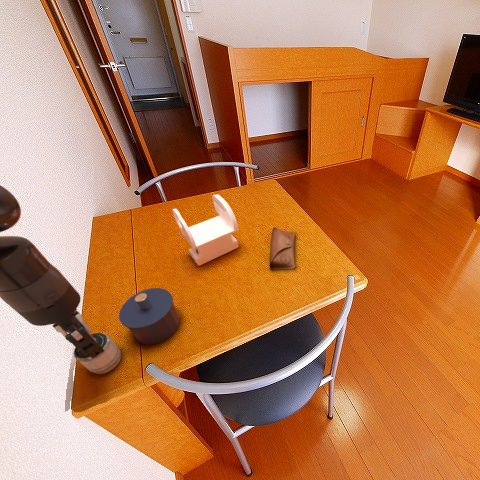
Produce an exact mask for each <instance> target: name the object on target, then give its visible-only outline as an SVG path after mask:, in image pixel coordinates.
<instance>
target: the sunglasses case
mask: <svg viewBox="0 0 480 480" xmlns="http://www.w3.org/2000/svg"><path fill="white" fill-rule="evenodd" d="M270 238H271V239H270V249H269V261H268V262H269V263H268V265H269V268H270V269H271V270H273V271H282V270H283V271H284V270H293V269H295V268H296V265H297V264H296V258H295V243H296V242H295V240H296V232H290V231H288V230H284V229H281V228H277V227H276V226H274V227H273V228H272V230H271V237H270Z"/></svg>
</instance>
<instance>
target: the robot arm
mask: <svg viewBox="0 0 480 480" xmlns="http://www.w3.org/2000/svg"><path fill="white" fill-rule="evenodd" d="M21 217H22V208H21V204H20V202H19V201H18V199H17V198H16V197H15V196H14V194H13V193H12V192H11V191H9V190H8V189H7V188H5V187H4V186H2V185H1V184H0V233H2V232H5V231H8V230H10V229H12V228H13V227H14V226H16V225H17V224H18V222H19V221H20V219H21ZM0 299H1V300H2V301H3V302H5V304H7V306H9V307H10V308H11V309H12V310H14V311H15V312H16V313H17V314H18V315H20V316H21V317H22V318H23V319H25V321H27V322H28V323H29V324H31V325H33V326H37V327H44V326H50V325H51V326H52V328H53V329H54V330H55V331H56V332H57V333H60V334H61V335H62V336H63V337H64V338H65V340H66V341H67V342H68V343H69V344H72V346H74V348H75V347H76V348H77V349H78V350H79V351H80V352H81V353H82V355H83V354H84V355H87V354H88V355H89V356H90V357H91V358H95V357H97V356H98V355H100V354H101V353H102V352H104V349H103V348H102V347H101V346H100V345H99V343H98V342H97V341H96V338H94V337H93V336H92V335H91V334H92V333H91V331H92V330H91V327H90V326H89V325H88V324H87V323H86V322H85V320H84V319H83V315H82V314H81V313H80V312H79V311H78V307H79V305H80V304H81V294H80V293H79V292H78V291H77V290H76V288H75V287H74V286H73V285H72V284H71V283H70V281H69V280H68V279H67V278H66V277H65V275H64V274H63V273H62V272H61V271H60V270H59V269H58V268H57V267H56V266H54V265H53V264H52V263H51V262H50V261H49V260H48V259H47V258H46V256H44V254H43V253H42V252H41V251H40V250H39V249H38V248H37V246H36V245H35V244H34V243H33V242H32V241H31V240H29V239H28V238H26V237H24V236H20V235H0Z"/></svg>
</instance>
